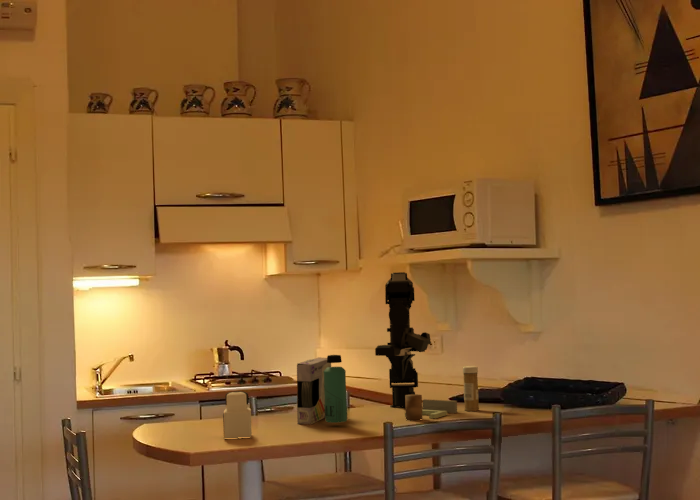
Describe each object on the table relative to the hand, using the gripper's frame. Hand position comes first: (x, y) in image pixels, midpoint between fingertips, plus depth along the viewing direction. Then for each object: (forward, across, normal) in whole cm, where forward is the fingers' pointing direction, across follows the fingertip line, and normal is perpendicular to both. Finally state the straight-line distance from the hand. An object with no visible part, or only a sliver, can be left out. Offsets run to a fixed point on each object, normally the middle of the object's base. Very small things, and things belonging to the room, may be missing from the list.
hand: (401, 379), depth 273 cm
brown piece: (+12, +7, 0) cm, 14 cm away
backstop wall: (+12, +24, +1) cm, 27 cm away
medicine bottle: (+13, -38, +28) cm, 49 cm away
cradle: (+12, +14, 0) cm, 19 cm away
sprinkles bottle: (+12, +30, -7) cm, 33 cm away
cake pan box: (+12, -4, +27) cm, 30 cm away
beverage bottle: (+12, -12, +14) cm, 23 cm away
